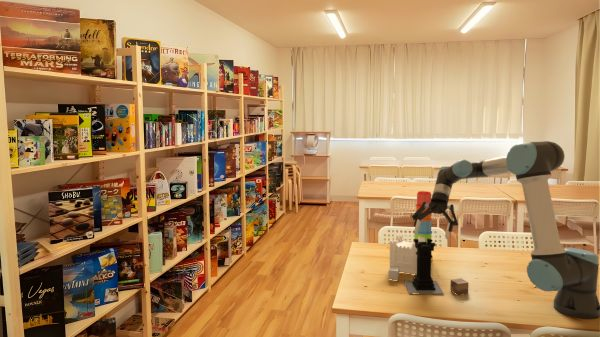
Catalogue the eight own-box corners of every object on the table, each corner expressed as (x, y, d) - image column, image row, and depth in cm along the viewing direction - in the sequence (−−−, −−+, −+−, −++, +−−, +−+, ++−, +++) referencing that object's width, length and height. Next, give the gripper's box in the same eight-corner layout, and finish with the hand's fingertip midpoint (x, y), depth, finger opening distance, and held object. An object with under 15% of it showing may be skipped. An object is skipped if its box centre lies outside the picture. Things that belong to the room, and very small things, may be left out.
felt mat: (443, 294, 182) (443, 293, 182) (409, 294, 183) (409, 292, 183) (436, 281, 196) (436, 280, 196) (403, 281, 197) (403, 280, 197)
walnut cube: (468, 294, 183) (468, 282, 182) (457, 295, 181) (457, 283, 181) (460, 289, 188) (461, 278, 187) (450, 290, 186) (450, 279, 186)
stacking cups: (407, 257, 229) (408, 191, 225) (423, 254, 233) (424, 189, 229) (421, 263, 220) (422, 194, 215) (437, 260, 224) (438, 193, 220)
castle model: (388, 271, 210) (388, 240, 208) (396, 262, 222) (397, 233, 220) (418, 276, 203) (419, 244, 201) (425, 266, 215) (426, 236, 214)
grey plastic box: (397, 282, 197) (397, 271, 196) (388, 281, 198) (388, 270, 198) (399, 277, 202) (399, 266, 202) (390, 276, 204) (390, 265, 203)
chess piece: (435, 290, 185) (436, 243, 183) (416, 290, 186) (417, 244, 183) (430, 282, 193) (431, 238, 191) (412, 283, 194) (412, 238, 191)
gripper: (470, 203, 201) (461, 243, 190) (416, 198, 215) (405, 235, 204) (467, 193, 196) (458, 234, 185) (412, 189, 210) (401, 227, 199)
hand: (430, 235), depth 195 cm, fingers open, 13 cm apart
